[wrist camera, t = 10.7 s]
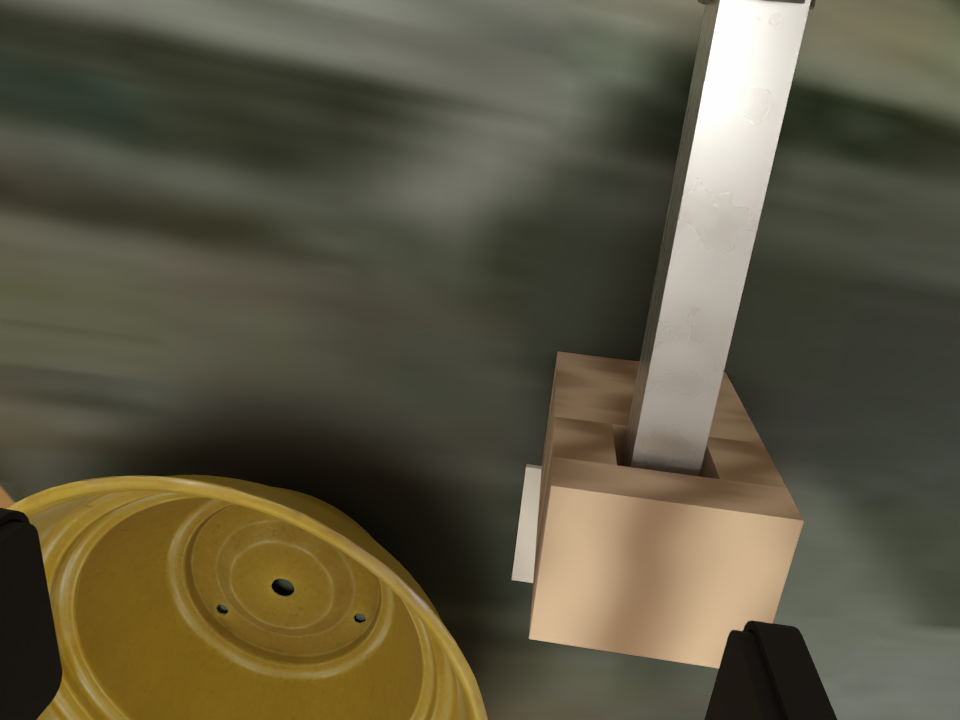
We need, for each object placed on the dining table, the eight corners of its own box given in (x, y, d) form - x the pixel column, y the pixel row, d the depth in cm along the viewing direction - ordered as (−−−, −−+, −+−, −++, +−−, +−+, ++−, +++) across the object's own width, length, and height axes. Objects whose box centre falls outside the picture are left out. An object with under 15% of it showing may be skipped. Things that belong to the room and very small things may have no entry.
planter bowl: (557, 436, 45) (553, 572, 33) (463, 780, 58) (434, 973, 45) (74, 323, 46) (-108, 413, 34) (83, 684, 59) (-48, 847, 46)
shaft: (805, -33, 27) (843, -51, 23) (679, 521, 36) (691, 571, 33) (698, -42, 27) (718, -60, 24) (600, 510, 37) (603, 558, 33)
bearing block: (725, 372, 42) (803, 520, 28) (698, 487, 45) (756, 674, 31) (557, 351, 43) (551, 485, 29) (541, 465, 46) (529, 638, 32)
